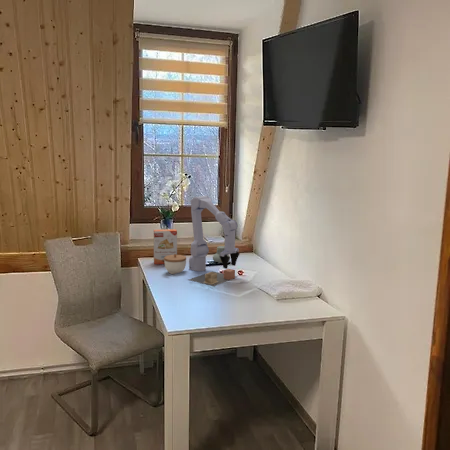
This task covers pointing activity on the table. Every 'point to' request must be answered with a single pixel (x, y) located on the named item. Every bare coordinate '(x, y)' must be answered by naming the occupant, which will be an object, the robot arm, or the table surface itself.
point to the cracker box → (164, 244)
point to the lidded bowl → (175, 263)
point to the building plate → (202, 280)
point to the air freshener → (216, 256)
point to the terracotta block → (229, 274)
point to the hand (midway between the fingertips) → (229, 266)
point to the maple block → (211, 277)
